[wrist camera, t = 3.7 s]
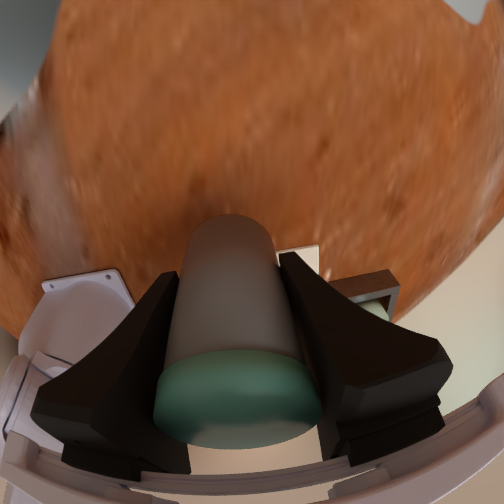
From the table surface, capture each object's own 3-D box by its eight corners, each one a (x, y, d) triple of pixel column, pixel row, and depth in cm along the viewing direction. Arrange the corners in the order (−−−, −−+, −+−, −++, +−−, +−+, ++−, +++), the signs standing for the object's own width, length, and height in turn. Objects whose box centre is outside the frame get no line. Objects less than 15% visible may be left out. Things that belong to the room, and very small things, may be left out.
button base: (326, 327, 26) (332, 345, 24) (328, 281, 23) (337, 300, 21) (379, 314, 26) (388, 330, 24) (388, 269, 23) (400, 285, 21)
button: (343, 328, 24) (349, 344, 22) (346, 301, 22) (354, 317, 21) (376, 320, 24) (384, 334, 22) (383, 292, 22) (392, 307, 21)
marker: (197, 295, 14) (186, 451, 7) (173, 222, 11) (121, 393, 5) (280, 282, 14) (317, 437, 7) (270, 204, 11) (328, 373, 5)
